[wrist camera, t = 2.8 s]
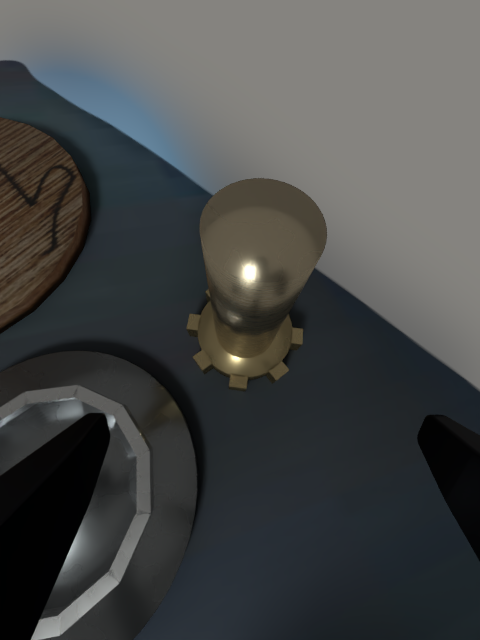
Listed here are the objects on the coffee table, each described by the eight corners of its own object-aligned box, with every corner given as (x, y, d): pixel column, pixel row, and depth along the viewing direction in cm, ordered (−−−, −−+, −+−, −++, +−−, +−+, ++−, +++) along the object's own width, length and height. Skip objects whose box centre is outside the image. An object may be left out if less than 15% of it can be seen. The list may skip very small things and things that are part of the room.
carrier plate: (253, 518, 17) (256, 528, 16) (-38, 794, 13) (-78, 850, 11) (115, 310, 22) (106, 301, 20) (-134, 463, 17) (-173, 467, 16)
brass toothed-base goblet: (318, 346, 21) (437, 249, 9) (233, 415, 19) (241, 408, 7) (252, 271, 24) (277, 112, 11) (169, 325, 22) (91, 203, 9)
